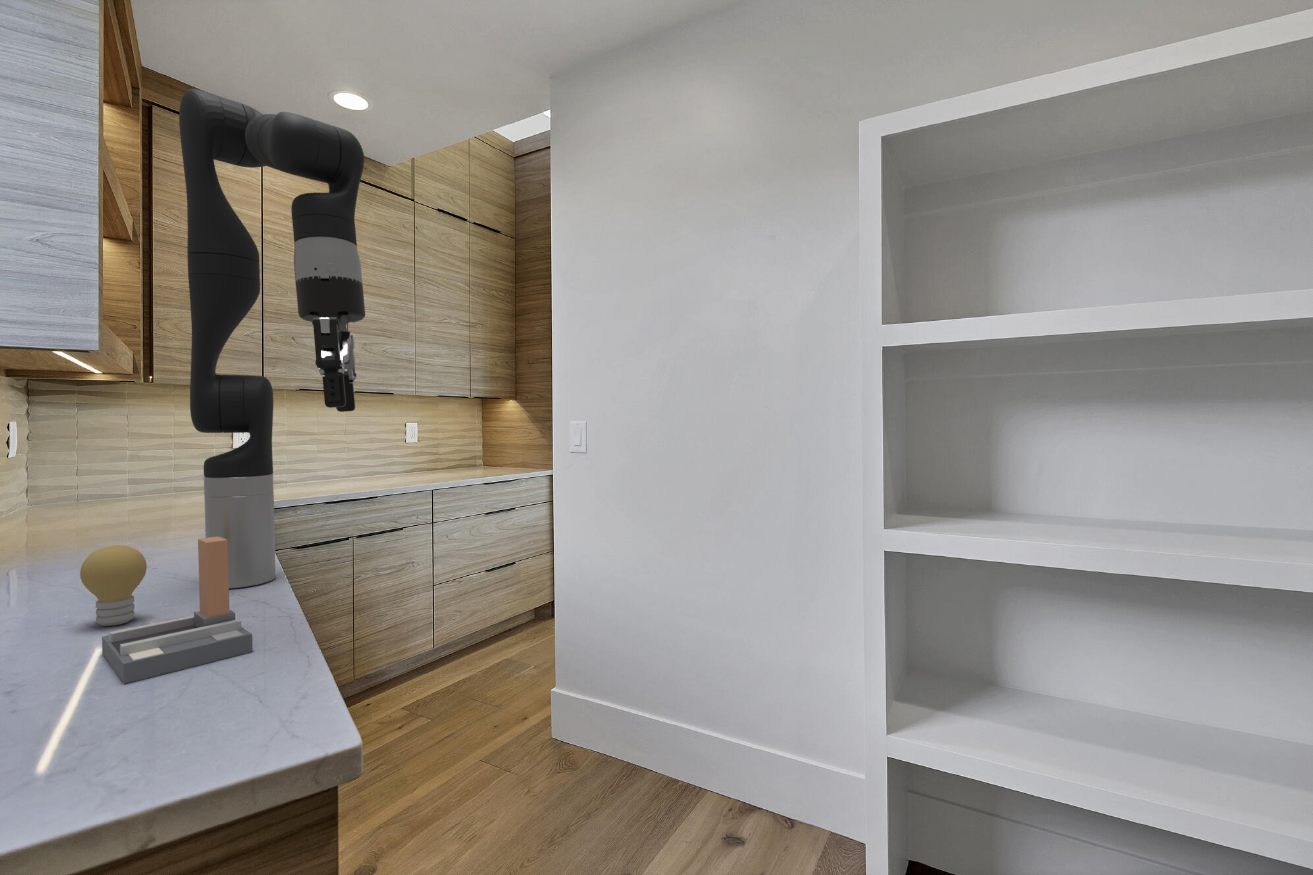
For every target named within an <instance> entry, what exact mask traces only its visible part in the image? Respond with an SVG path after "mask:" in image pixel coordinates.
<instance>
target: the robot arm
mask: <svg viewBox="0 0 1313 875" xmlns="http://www.w3.org/2000/svg"><path fill="white" fill-rule="evenodd" d="M178 121H179V122H178V123H179V124H178V126H179V136H180V146H181V147H180V148H181V155H182V162H183V173H184V180H185V182H184V183H185V190H186V192H185V193H186V205H187V206H186V210H187V211H186V213H187V214H186V216H187V240H186V241H187V242H186V243H187V246H186V247H187V250H186V251H187V253H186V254H187V256H186V257H187V277H188V278H187V279H188V280H187V281H188V291H189V305H190V319H191V351H190V352H191V354H190V356H191V357H190V378H189V380H190V383H189V384H190V386H189V409H190V410H189V412H190V419H191V421H192V423H191V424H192V425H193V427H194V429H196V431H197V432H199V433H205V434H216V433H217V434H221V433H222V434H232V433H234V434H240V433H241V434H242V433H243V434H244V433H247V434H249V438H248V440H247V441H245V442H244V443H242V444H241V445H239V446H238V447H236V448H234V449H232V450H230V451H226V452H224V453H221V454H216V455H213V456H210V457H208V458H207V459H205V460H204V462H203V476H204V477H203V492H204V494H203V495H204V496H203V497H204V498H203V499H204V526H205V527H204V532H205V533H204V534H205V535H204V538H210V537H218V536H219V537H221V538H224V539H226V540H228V575H229V589H238V588H239V589H240V588H246V587H252V586H253V587H254V586H257V585H262V584H265V583H268V582H271V581H273V580H274V579H275V578H276V543H275V542H276V535H275V534H276V533H275V532H276V531H275V500H274V499H275V497H274V496H275V495H274V494H275V493H274V461H273V460H274V459H273V424H274V423H273V421H274V391H273V385H272V384H271V382H270V380H269V379H268V378H267V377H265V376H264V375H263V376H261V375H248V374H247V375H246V374H245V375H243V374H240V375H239V374H219V373H218V374H217V372H216V371H217V370H216V369H217V364H218V361H219V358H220V355H221V353H222V350H223V349H224V347H225V345H226V343H227V342H228V340H229V338H230V337H231V335H232V334H233V333H234V332H235V330H236V328H237V327H238V326H239V325H240V323H241V322H242V321H243V320H244V319H245V318H246V316H247V315H248V313H249V312H250V311H251V310H252V308H253V307H254V305H255V304H256V302H257V300H258V298H259V296H260V292H261V274H260V273H261V272H260V271H261V269H260V268H261V267H260V264H261V262H260V253H259V250H258V246H257V245H256V243H255V241H254V239H253V237H252V236H251V234H250V232H249V231H248V230H247V227H246V226H245V225H244V223H243V222H242V220H241V219H240V218H239V216H238V215H237V213H236V211H235V210H234V208H233V207H232V205H231V204H230V202H229V200H228V198H226V195H225V193H224V191H223V189H222V186H221V184H220V181H219V178H218V175H217V170H216V166H215V161H217V162H222V163H225V164H230V165H233V166H237V167H242V168H249V169H250V168H254V169H255V168H262V167H269V168H271V169H274V170H277V171H279V172H283V173H284V174H285V173H286V174H290V175H293V176H297V177H300V178H303V179H309V180H313V181H317V182H321V183H325V184H328V192H307V193H305V192H304V193H301V194H298V195H297V196H295V197H294V198H293V200H292V202H291V209H290V210H291V222H292V232H293V243H294V248H293V250H294V251H293V268H294V279H295V290H296V292H295V294H296V303H297V313H298V314H297V315H298V316H299V317H300V318H301V319H302V320H304V321H306V322H310V323H312V326H313V337H314V350H315V352H314V353H315V360H314V361H315V366H316V368H317V369H318V372H319V373H320V376H322V386H323V387H322V388H323V397H324V405H325V407H327V408H329V409H330V408H331V409H333V408H336V410H337V411H338V412H340V413H344V412H353V411H355V409H356V400H355V391H354V389H355V388H354V387H355V386H354V383H355V381H356V378H357V373H356V369H355V368H356V356H355V352H354V350H355V349H354V348H355V338H354V335H353V334H351V331H348V329H347V328H348V327H347V325H348V324H349V323H356V322H360V321H362V320H364V319H365V317H366V307H365V297H364V296H365V295H364V286H363V277H362V276H363V273H362V265H361V260H360V255H359V250H358V241H357V232H356V230H357V229H356V222H355V213H356V208H357V207H356V206H357V201H358V200H357V199H358V193H359V187H360V184H361V179H362V176H363V172H364V166H365V155H364V150H363V147H362V145H361V142H360V141H359V140H358V138H357V137H356V136H355V134H353V133H352V132H350V131H349V130H346V129H344V128H342V127H338V126H336V125H333V124H332V125H331V124H328V123H326V122H323V121H319V120H316V119H314V118H310V117H308V116H304V115H301V114H298V113H294V112H290V111H289V112H287V111H280V112H278V113H277V114H275V113H265V114H264V113H262V112H261V111H259V110H257V109H256V108H254V107H252V106H249V105H247V104H244V103H241V102H238V101H236V100H235V101H234V100H232V99H229V98H227V97H223V96H220V95H217V94H214V93H211V92H208V91H205V90H201V89H197V88H189V89H187V90H186V91H185V92H184V93H183V95H182V97H181V100H180V104H179V115H178Z"/></svg>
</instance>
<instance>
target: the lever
mask: <svg viewBox="0 0 1313 875" xmlns="http://www.w3.org/2000/svg"><path fill="white" fill-rule="evenodd" d="M197 550H198V553H197V554H198V555H197V556H198V588H199V589H198V591H199V592H198V595H199V611H194V612H193V615H194V625H195V626H196V627H197V628H200V627H204V626H209V625H214V624H218V623H223V622H228V621H232V620H236V612H235V611H233V610H232V609H231V608H230V588H229V575H228V540H226V539H224V538H221V537H219V536H218V537H210V538H205V537H202V538H198V539H197Z"/></svg>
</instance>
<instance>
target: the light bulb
mask: <svg viewBox="0 0 1313 875" xmlns="http://www.w3.org/2000/svg"><path fill="white" fill-rule="evenodd" d="M147 567H148V566H147V561H146V558H145V556H144V555H143V554H142V552H140V551H139V550H138V549H136V548H134V547H131V546H129V545H128V546H127V545H109V546H104V547H102V548H99V549H97V550H95V551H93V552H91V553H90V554H89V555H88V556H87V557H86V558H85V559H84V561H83V562H82V564H81V567H80V571H79V577H80V579H81V583H82V584H83V586H84V587H85V589H87V591H88V592H90V593H91V594H92V595H93V596H95V597H96V599H97V601H95V608H96V610H95V615H96V617H95V622H96V623H97V625H100V626H102V627H114V626H118V625H123V624H126V623H129V622H130V621H131V620H132V619H133V618H135V615H136V613H135V603H134V602H135V597H134V595H133V592H134V591H135V590H136V589H137V588H138V586H139V585H140V583H141V582H142V581H143V579H144V578H145V576H146V573H147Z"/></svg>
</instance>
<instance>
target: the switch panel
mask: <svg viewBox="0 0 1313 875" xmlns="http://www.w3.org/2000/svg"><path fill="white" fill-rule="evenodd" d="M101 645H102V646H101V648H102V650H101V651H102V656H103V658H105V660H106V662H108V664H109V665H110V667H111V668H112V670H113V671H114V673H115V674H116V675H117V677H118V678H119V680H120V681H121V682H122V684H124V685H125V684H129V683H133V682H137V681H142V680H145V679H149V678H154V677H157V676H162V675H165V674H170V673H173V672H178V671H181V670H185V669H189V668H193V667H198V666H201V665H204V664H210V663H212V662H218V661H221V660H224V659H229V658H232V657H236V656H241V655H245V654H250V653H252V652H253V633H252V632H250V631H248V629H245V628H243V627H242V620H240V619H235V620H232V621H228V622H223V623H218V624H214V625H209V626H204V627H200V628H197V627H196V626H195V625H194V614H193V615H188V616H183V617H179V618H174V619H169V620H163V621H159V622H154V623H153V622H152V623H149V624H144V625H138V626H133V627H129V628H123V629H119V630H113V631H109V635H103V636H101ZM161 674H162V675H161Z"/></svg>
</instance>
